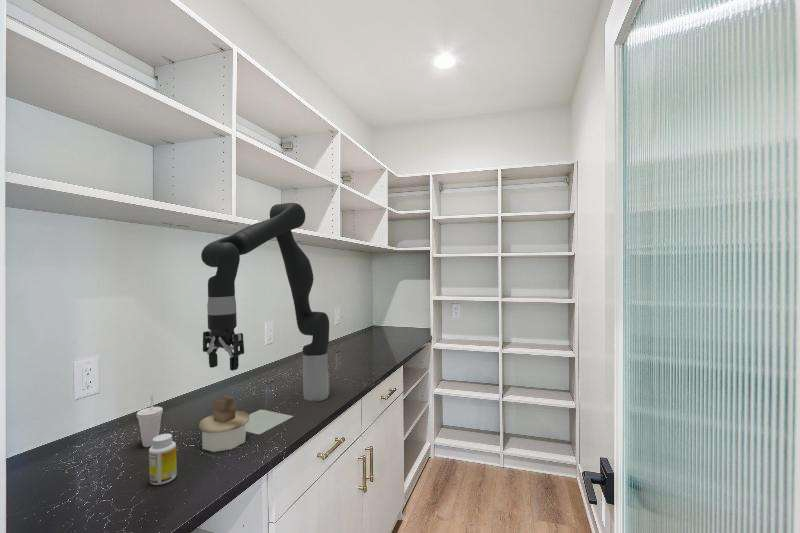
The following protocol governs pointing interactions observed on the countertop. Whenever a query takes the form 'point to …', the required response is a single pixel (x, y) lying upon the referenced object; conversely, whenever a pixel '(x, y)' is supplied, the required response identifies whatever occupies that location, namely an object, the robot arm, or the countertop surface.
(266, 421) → the mat
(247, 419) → the lid
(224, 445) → the bowl
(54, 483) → the countertop surface
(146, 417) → the smoothie
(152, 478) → the supplement bottle
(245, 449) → the countertop surface
